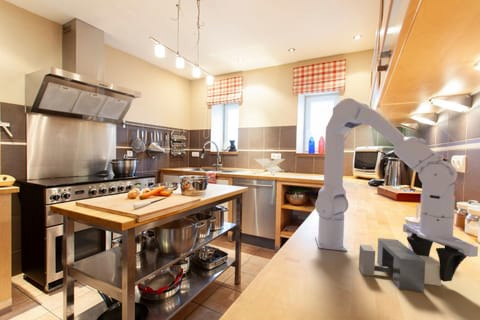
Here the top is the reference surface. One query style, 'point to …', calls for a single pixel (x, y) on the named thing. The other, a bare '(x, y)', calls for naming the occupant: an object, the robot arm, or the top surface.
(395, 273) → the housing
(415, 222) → the smoothie
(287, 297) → the top surface
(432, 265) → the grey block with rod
